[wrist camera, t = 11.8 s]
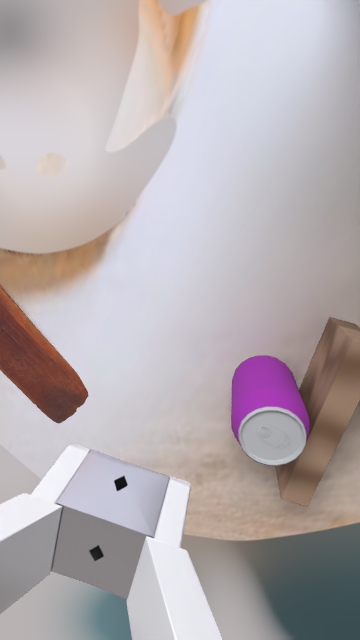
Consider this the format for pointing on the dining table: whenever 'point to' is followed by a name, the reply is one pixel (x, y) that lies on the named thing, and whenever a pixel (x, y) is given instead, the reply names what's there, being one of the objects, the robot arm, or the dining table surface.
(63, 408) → the wooden tablet
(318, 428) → the board
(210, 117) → the dining table surface
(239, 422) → the beverage can
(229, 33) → the dining table surface
